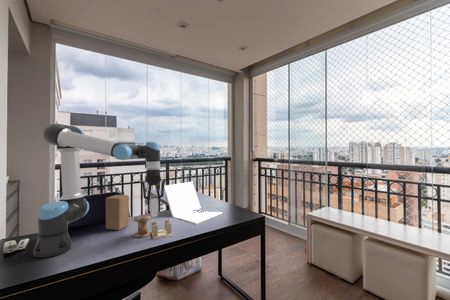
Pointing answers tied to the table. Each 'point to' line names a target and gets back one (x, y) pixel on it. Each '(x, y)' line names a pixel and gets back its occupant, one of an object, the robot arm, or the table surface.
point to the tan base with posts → (161, 233)
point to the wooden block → (117, 212)
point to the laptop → (186, 203)
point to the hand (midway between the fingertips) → (153, 210)
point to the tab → (153, 205)
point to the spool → (142, 226)
